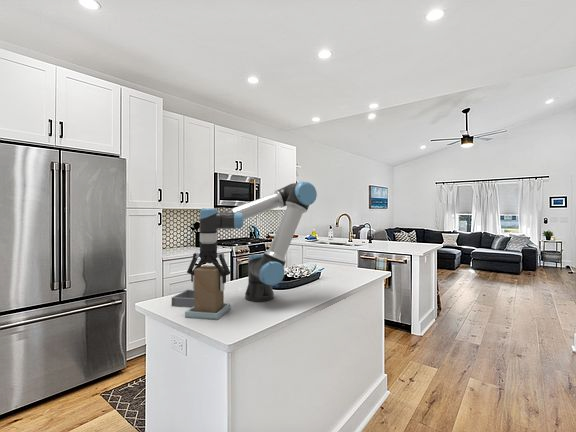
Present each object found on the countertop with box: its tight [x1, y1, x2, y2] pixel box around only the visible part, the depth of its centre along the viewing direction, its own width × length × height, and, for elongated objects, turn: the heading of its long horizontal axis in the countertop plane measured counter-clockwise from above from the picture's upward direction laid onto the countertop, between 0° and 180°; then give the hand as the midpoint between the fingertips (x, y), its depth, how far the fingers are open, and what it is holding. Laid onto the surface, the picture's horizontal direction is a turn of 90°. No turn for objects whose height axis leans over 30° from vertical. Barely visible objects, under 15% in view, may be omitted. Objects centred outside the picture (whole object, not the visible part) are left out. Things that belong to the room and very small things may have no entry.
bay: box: [171, 289, 194, 308], centre depth 156 cm, size 14×15×4 cm
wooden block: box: [193, 264, 225, 313], centre depth 140 cm, size 10×10×20 cm
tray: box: [184, 302, 232, 321], centre depth 140 cm, size 15×15×2 cm
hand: (208, 289), depth 140 cm, fingers open, 12 cm apart
